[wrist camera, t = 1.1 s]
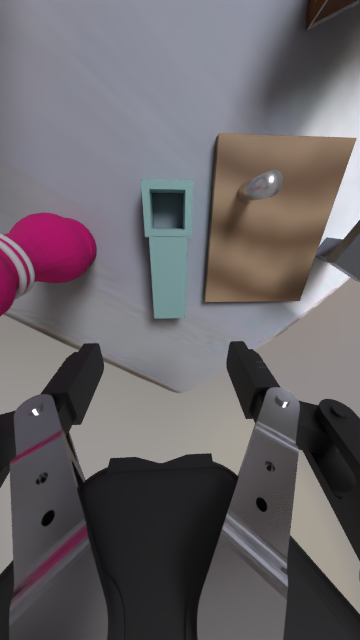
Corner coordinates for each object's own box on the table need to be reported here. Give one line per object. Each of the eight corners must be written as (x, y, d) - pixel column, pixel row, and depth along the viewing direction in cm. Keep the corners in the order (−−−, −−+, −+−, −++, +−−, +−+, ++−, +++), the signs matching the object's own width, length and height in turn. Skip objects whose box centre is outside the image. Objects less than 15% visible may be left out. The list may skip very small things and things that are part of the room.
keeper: (288, 250, 26) (334, 263, 19) (314, 214, 24) (377, 213, 17) (319, 269, 28) (371, 288, 21) (345, 237, 26) (415, 245, 19)
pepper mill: (111, 255, 26) (-11, 338, 8) (71, 280, 27) (-106, 397, 10) (73, 201, 22) (-265, 145, 5) (30, 232, 24) (-354, 276, 6)
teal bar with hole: (186, 307, 30) (188, 317, 27) (153, 308, 30) (151, 318, 27) (190, 185, 22) (193, 180, 19) (144, 184, 22) (140, 179, 19)
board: (216, 137, 20) (219, 133, 19) (347, 141, 21) (356, 137, 20) (203, 298, 29) (205, 301, 28) (295, 298, 30) (299, 300, 29)
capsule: (235, 183, 22) (263, 169, 16) (251, 183, 22) (285, 169, 16) (233, 202, 23) (258, 197, 17) (248, 202, 23) (279, 197, 17)
